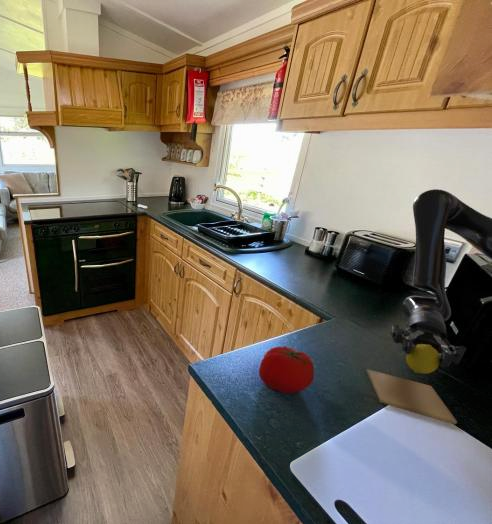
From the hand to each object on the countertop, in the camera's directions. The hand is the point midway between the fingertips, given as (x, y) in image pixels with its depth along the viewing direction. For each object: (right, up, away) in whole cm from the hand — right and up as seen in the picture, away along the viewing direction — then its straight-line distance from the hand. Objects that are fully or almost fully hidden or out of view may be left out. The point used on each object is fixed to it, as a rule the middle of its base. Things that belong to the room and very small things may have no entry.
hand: (426, 357), depth 66 cm
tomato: (-30, -9, +7) cm, 32 cm away
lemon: (+1, -5, +4) cm, 7 cm away
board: (+1, -11, +6) cm, 13 cm away
